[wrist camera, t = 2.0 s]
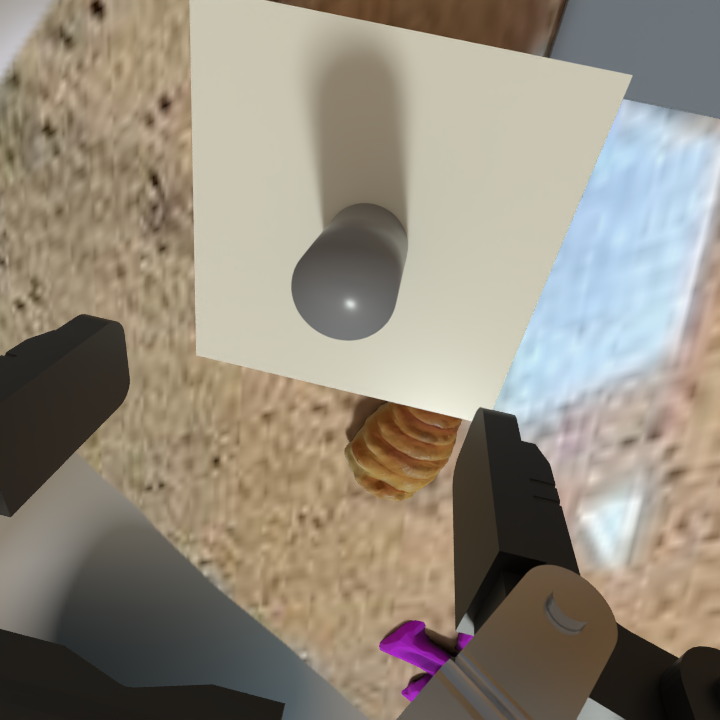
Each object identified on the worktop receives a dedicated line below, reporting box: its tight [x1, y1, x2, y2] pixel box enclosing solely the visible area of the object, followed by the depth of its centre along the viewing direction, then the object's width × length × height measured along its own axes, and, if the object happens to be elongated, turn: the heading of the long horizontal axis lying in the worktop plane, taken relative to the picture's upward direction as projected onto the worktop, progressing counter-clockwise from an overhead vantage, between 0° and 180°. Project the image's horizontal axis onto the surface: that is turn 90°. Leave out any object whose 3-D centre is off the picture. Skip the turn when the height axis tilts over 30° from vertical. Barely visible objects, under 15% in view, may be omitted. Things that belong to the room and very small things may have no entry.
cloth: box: [379, 620, 473, 702], centre depth 47 cm, size 22×19×6 cm
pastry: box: [345, 401, 462, 501], centre depth 33 cm, size 9×7×4 cm
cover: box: [190, 0, 633, 421], centre depth 18 cm, size 15×15×6 cm
